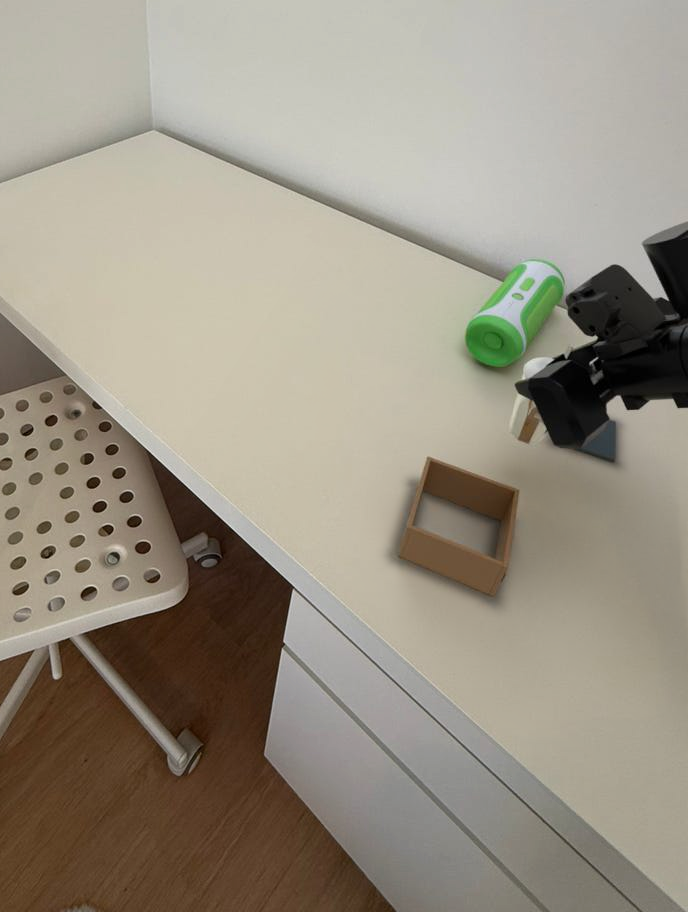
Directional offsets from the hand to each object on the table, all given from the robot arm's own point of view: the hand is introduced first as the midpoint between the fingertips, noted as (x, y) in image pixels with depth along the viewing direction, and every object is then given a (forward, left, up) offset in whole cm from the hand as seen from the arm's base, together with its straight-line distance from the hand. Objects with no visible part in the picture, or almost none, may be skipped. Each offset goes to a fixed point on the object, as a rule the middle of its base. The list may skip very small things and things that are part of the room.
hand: (534, 376), depth 65 cm
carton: (+3, +12, -13) cm, 18 cm away
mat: (-8, -8, -13) cm, 18 cm away
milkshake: (-1, +1, -7) cm, 7 cm away
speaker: (+2, -22, -13) cm, 26 cm away
